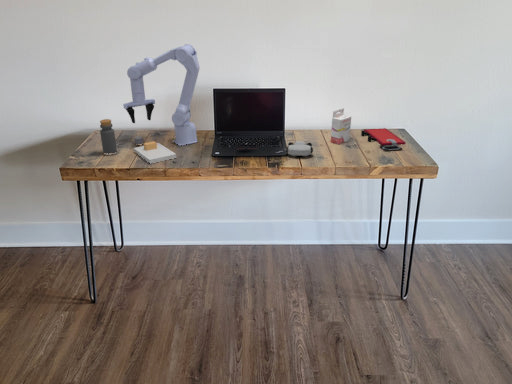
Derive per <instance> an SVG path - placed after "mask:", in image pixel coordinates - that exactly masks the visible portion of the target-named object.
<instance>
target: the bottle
mask: <svg viewBox="0 0 512 384" xmlns="http://www.w3.org/2000/svg"><path fill="white" fill-rule="evenodd" d="M99 123H100V125H99V127H100V131H99V132H100V133H99V134H100V140H101V146H102V153H103V152H104V153H108V154H109V153H115V152H117V153H118V148H117V143H116V141H117V140H116V134H115V129H113V123H112V119H109V118H108V119H101V120H99Z"/></svg>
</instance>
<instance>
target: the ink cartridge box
mask: <svg viewBox="0 0 512 384" xmlns="http://www.w3.org/2000/svg"><path fill="white" fill-rule="evenodd" d="M344 111H345V107H344V108H340V109H337V110H334V111H333V113H332V118H331V119H332V120H331V130H330V131H331V133H330V143H333V144H337V145H340V144H342V143H343V144H344V143H346V142H349V141H350V137H351V126H352V116H351V115H348V114H344Z"/></svg>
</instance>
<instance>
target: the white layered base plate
mask: <svg viewBox="0 0 512 384" xmlns="http://www.w3.org/2000/svg"><path fill="white" fill-rule="evenodd" d="M156 143H157V148H156V149H151V150H145V149H144V145H141V146H137V147H133V148H132V149H133V152H134V151H135V152H136V153H137V154H138V155H139V156H141V157H142V158H143V159H142V158H141V157H140V158H141V159H142V160H144V159H145V160H146V161H147V162H146V161H145V160H144V161H145V162H146V163H148V162H149V163H150V164H149V163H148V164H149V165H152V164H151V163H155V164H157V163H156V162H159V163H161V162H160V161H163V162H165V161H164V160H167V161H170V160H169V159H172V160H175V159H174V158H176V159H177V154H176V153H175V152H173V151H172V150H170V149H169V148H167V147H165V146H164V145H162V144H161V143H160V142H156ZM137 154H136V155H137ZM138 155H137V156H138ZM139 156H138V157H139Z"/></svg>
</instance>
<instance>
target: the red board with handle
mask: <svg viewBox="0 0 512 384" xmlns="http://www.w3.org/2000/svg"><path fill="white" fill-rule="evenodd" d="M360 132H361V133H360V136H361V137H365V136H367V142H368V143H372V141H374V142H377V143H378V144H379V147H380V148H381V149H383V151H396V150H397V151H398V150H403V148H402V147H401V146H399V145H401V144H402V145H406V141H404V140H403V139H402V138H400V137H399V136H397V135H396V134H394V133H393V132H392V131H391V130H388V129H387V128H385V127H384V128H366V129H365V128H364V129H363V130H361V131H360Z"/></svg>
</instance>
